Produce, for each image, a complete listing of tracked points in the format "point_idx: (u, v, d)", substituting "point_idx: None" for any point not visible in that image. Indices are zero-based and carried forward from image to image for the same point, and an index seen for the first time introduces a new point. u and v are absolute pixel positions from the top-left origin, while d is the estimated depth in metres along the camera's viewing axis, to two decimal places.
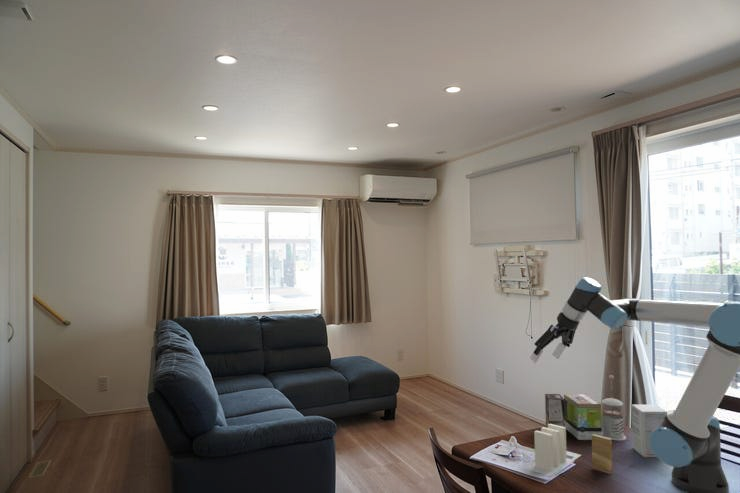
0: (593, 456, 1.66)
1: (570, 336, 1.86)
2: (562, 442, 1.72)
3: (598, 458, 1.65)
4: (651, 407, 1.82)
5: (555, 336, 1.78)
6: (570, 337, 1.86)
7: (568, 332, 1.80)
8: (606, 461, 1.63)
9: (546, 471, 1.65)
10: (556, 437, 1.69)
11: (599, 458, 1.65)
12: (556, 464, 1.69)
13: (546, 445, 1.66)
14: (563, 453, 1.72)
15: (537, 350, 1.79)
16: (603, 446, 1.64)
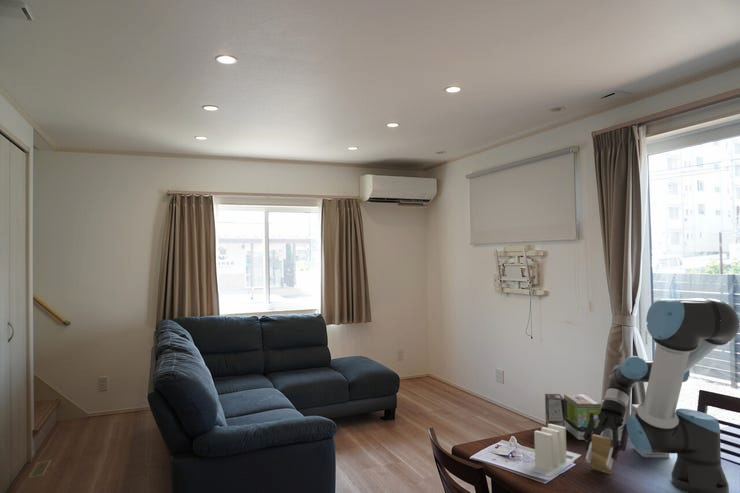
0: (593, 456, 1.66)
1: None
2: (562, 442, 1.72)
3: (598, 458, 1.65)
4: None
5: None
6: None
7: (612, 418, 1.69)
8: (606, 461, 1.63)
9: (546, 471, 1.65)
10: (556, 437, 1.69)
11: (599, 458, 1.65)
12: (556, 464, 1.69)
13: (546, 445, 1.66)
14: (563, 453, 1.72)
15: (587, 445, 1.69)
16: (603, 446, 1.64)
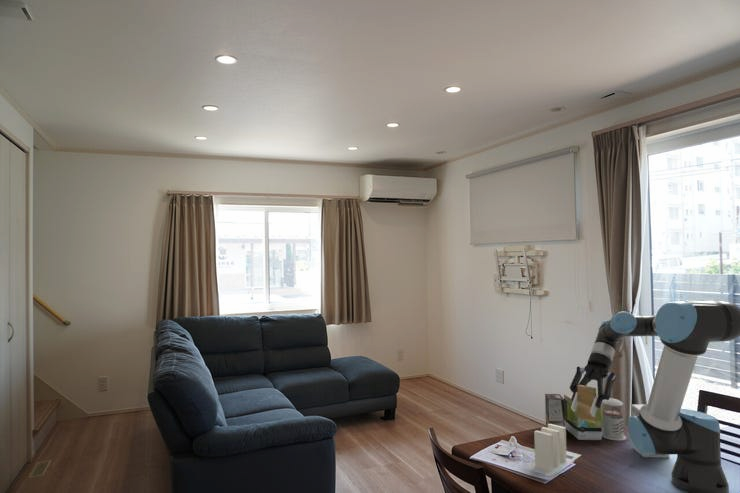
0: (578, 405, 1.73)
1: None
2: (562, 442, 1.72)
3: (583, 407, 1.71)
4: None
5: None
6: None
7: (597, 370, 1.75)
8: (590, 409, 1.69)
9: (546, 471, 1.65)
10: (556, 437, 1.69)
11: (584, 407, 1.71)
12: (556, 464, 1.69)
13: (546, 445, 1.66)
14: (563, 453, 1.72)
15: (573, 395, 1.75)
16: (588, 396, 1.70)
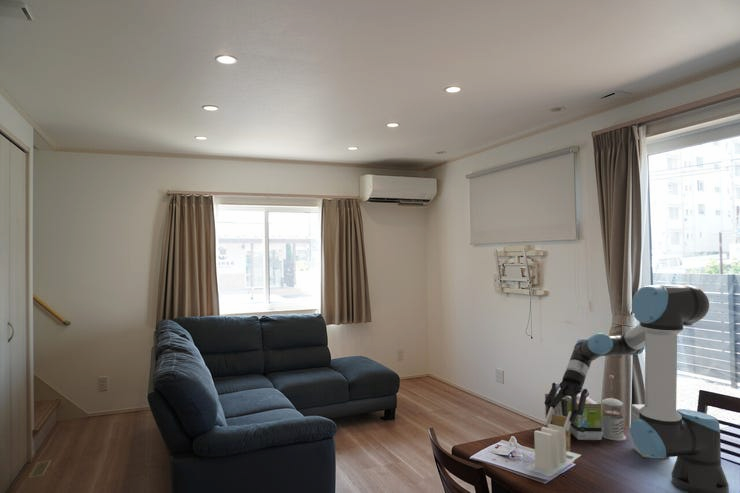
0: None
1: None
2: (562, 442, 1.72)
3: None
4: None
5: None
6: None
7: (571, 386, 1.83)
8: None
9: (546, 471, 1.65)
10: (556, 437, 1.69)
11: None
12: (556, 464, 1.69)
13: (546, 445, 1.66)
14: (563, 453, 1.72)
15: None
16: (562, 425, 1.77)
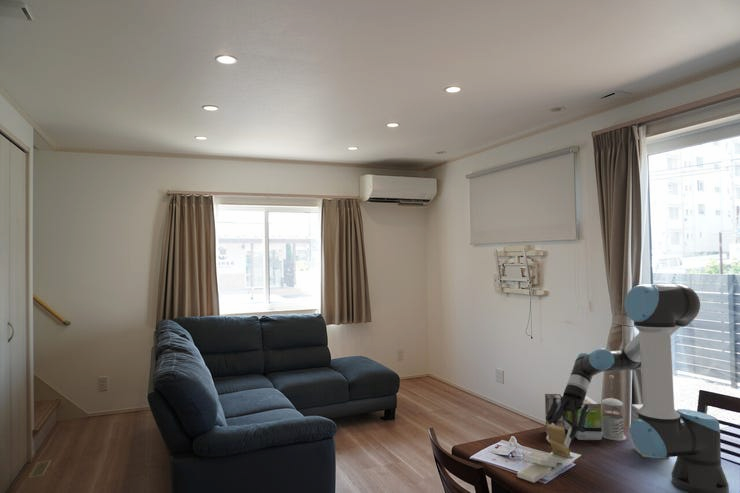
0: (551, 442, 1.78)
1: None
2: (552, 461, 1.67)
3: (555, 444, 1.77)
4: None
5: None
6: None
7: (572, 402, 1.82)
8: (562, 446, 1.75)
9: None
10: (542, 464, 1.61)
11: (556, 444, 1.77)
12: (553, 466, 1.67)
13: None
14: (558, 462, 1.69)
15: None
16: (558, 436, 1.75)
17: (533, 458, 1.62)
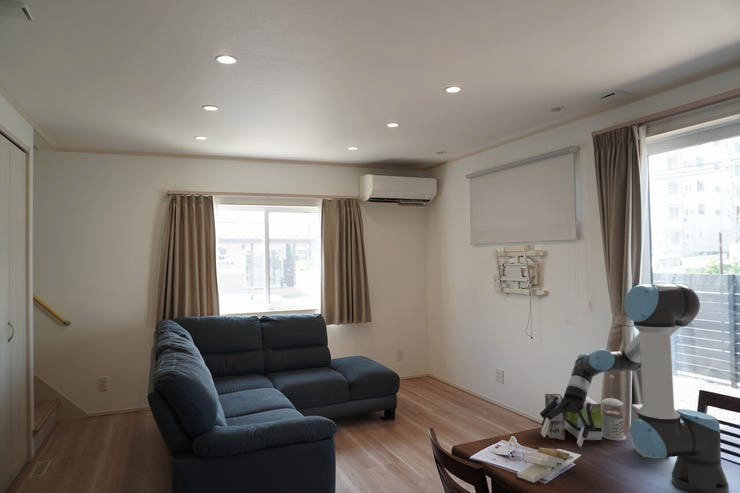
0: None
1: (588, 417, 1.76)
2: (552, 461, 1.67)
3: None
4: None
5: None
6: (588, 418, 1.76)
7: (573, 403, 1.82)
8: None
9: None
10: (542, 464, 1.61)
11: None
12: (553, 466, 1.67)
13: None
14: (558, 462, 1.69)
15: (543, 421, 1.85)
16: None
17: (533, 458, 1.62)
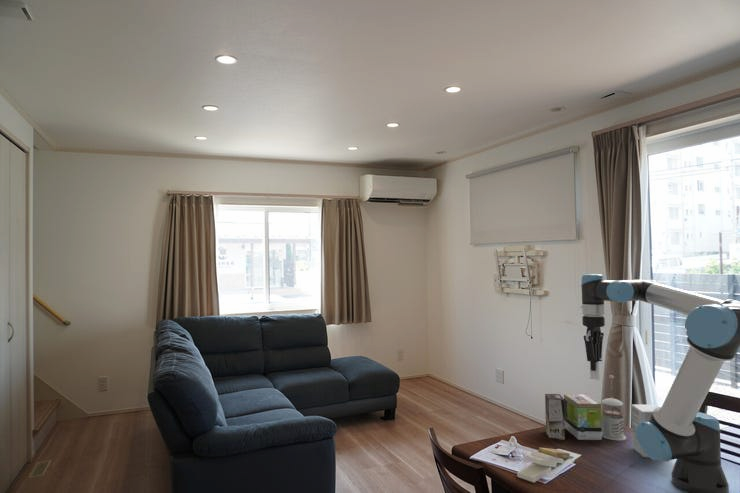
0: None
1: (599, 346, 1.81)
2: (552, 461, 1.67)
3: None
4: (651, 407, 1.82)
5: (595, 343, 1.77)
6: None
7: (600, 333, 1.79)
8: None
9: None
10: (542, 464, 1.61)
11: None
12: (553, 466, 1.67)
13: None
14: (558, 462, 1.69)
15: (593, 365, 1.78)
16: None
17: (533, 458, 1.62)
